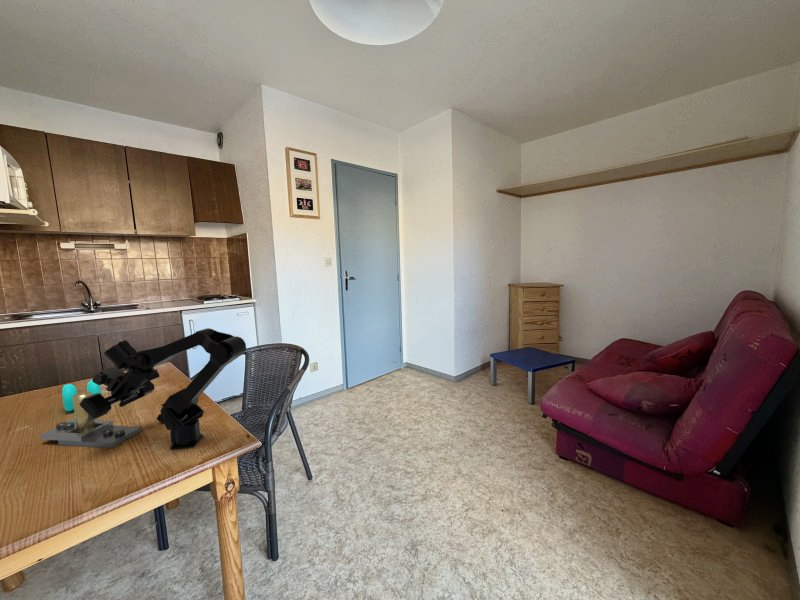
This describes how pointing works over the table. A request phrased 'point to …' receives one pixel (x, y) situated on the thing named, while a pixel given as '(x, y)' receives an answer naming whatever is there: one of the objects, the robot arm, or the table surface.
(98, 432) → the bolted metal plate
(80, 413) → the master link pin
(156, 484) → the table surface
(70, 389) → the donuts
